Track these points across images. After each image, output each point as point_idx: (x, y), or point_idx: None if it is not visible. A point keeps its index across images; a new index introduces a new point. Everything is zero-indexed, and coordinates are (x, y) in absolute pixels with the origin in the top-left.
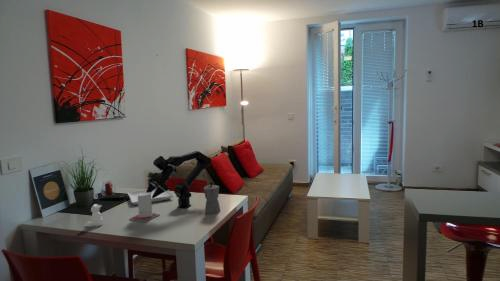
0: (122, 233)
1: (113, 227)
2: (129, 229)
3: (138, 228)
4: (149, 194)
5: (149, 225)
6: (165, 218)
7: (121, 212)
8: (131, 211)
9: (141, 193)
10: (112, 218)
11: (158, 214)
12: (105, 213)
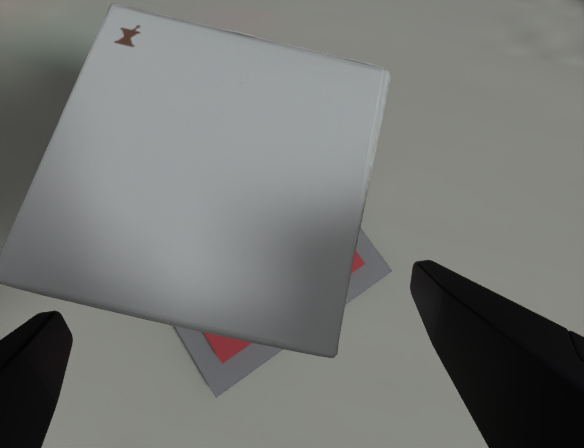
0: (4, 23)
1: (185, 3)
2: (48, 77)
3: (12, 135)
4: (49, 260)
5: (7, 227)
6: (79, 423)
7: (527, 118)
8: (513, 191)
9: (324, 125)
10: (404, 36)
11: (213, 384)
12: (561, 21)
